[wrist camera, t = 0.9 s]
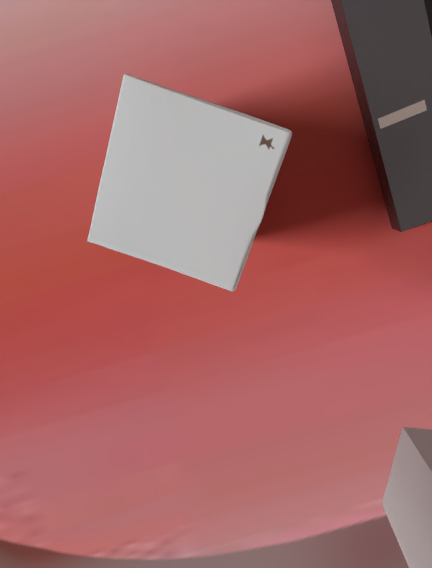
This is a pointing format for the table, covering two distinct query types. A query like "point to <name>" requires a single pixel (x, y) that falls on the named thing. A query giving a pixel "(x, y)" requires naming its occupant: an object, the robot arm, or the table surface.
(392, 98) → the panel
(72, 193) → the table surface
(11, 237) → the table surface
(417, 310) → the table surface
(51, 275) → the table surface
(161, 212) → the supplement box
